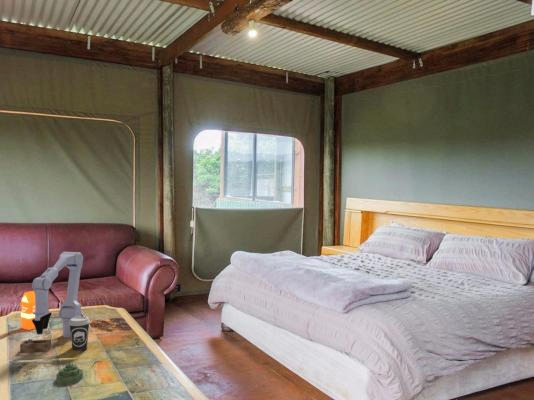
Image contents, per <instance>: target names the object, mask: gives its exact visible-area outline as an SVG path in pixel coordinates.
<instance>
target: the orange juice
mask: <svg viewBox="0 0 534 400" xmlns="http://www.w3.org/2000/svg"><path fill="white" fill-rule="evenodd" d="M33 312H35V293H34V290H29V291H25V292H24V294H23V296H22V298H21V301H20V323H21V324H20V325H21V326H20V328H21V329H25V330H33V329H36V328H35V326H34V324H33V322H32V320H33V319H35V314H33Z"/></svg>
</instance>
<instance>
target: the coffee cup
mask: <svg viewBox="0 0 534 400" xmlns="http://www.w3.org/2000/svg"><path fill="white" fill-rule="evenodd" d="M90 323H91V321H90V319H89V317H88V316H84V315H81V316H80V317H74V318H72V319H71V320H70V322H69V325H70V332H71V337H70V338H71V339H70V341H71V349H72V350H74V351H79V350H80V353H81V352H85V351H86V350H88V342H89V339H88V338H89V328H90Z"/></svg>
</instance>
